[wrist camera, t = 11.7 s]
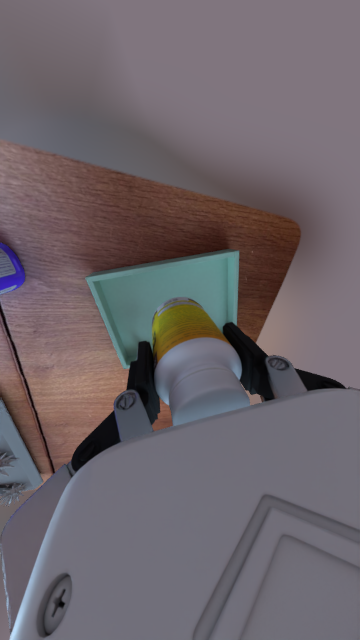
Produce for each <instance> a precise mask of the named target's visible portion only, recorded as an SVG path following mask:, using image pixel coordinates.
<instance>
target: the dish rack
mask: <svg viewBox="0 0 360 640" xmlns="http://www.w3.org/2000/svg"><path fill="white" fill-rule="evenodd" d="M238 273H239V250H232V249H226V250H221V251H215V252H209V253H203V254H198V255H192V256H186V257H180V258H174V259H169V260H163V261H157V262H151V263H145V264H140V265H134V266H128V267H122V268H116V269H111V270H105V271H99V272H93V273H92V274H90V275H89V276H87V277H86V280H87V283H88V285H89V287H90V290H91V292H92V295H93V297H94V299H95V302H96V304H97V306H98V309H99V311H100V314H101V316H102V318H103V321H104V323H105V325H106V328H107V330H108V333H109V335H110V337H111V340H112V342H113V345H114V347H115V349H116V352H117V354H118V356H119V359H120V361H121V364H122V366H123V368H124V369H127V368H130V363H131V361H135V360H137V354H138V343H139V342H141V341H147V342H150V345H151V349H152V353H153V344H152V319H153V315H154V313H155V311H156V310H157V308H158V307H159V306H160V305H161V304H162V303H164V302H165V301H167V300H169V299H171V298H175V297H187V298H191V299H193V300H195V301H196V302H198V303H199V304H200V305H201V306H202V307H203V309H204V310H205V311H206V313H207V314H208V315H209V317H210V318H211V319H212V320H213V322H214V323H215V324H216V326H217V327H218V328H219V330H220V331H221V332H222V334H223V326H224V325H225V323H229V322H233V323H234V324H235V325H236V326H237V301H238Z"/></svg>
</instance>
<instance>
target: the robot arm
mask: <svg viewBox="0 0 360 640" xmlns="http://www.w3.org/2000/svg"><path fill="white" fill-rule="evenodd" d="M223 335H224V336H225V338H226V339H227V340H228V341H229V343H230V344H231V345H232V347H233V348H234V349H235V351H236V352H237V354H238V355H239V358H240V360H241V365H242V373H241V377H240V380H239V381H240V382H241V384H242V385H243V387H244V388H245V390H248V391H249V392H250V394H251V395H253V394H259V395H260V397H261V400H262V403H259V404H255V405H251V406H247V407H243V408H239V409H235V410H232V411H228V412H224V413H220V414H217V415H213V416H209V417H205V418H202V419H198V420H194V421H190V422H187V423H183V424H179V425H176V426H172V427H168V428H165V429H161V430H158V431H153V428H152V424H153V423H154V422H155V420H156V419H158V416H157V414H158V413H160V401H159V396H158V394H157V392H156V389H155V385H154V371H153V353H152V349H151V345H150V342H147V341H141V342H139V343H138V354H137V360H135V361H131V363H130V369H129V376H128V383H127V390H126V391H124V392H122V393H121V394H120V395H119V396H118V397H117V398H116V399H115V401H114V411H113V412H112V413H111V414H110V415H109V416H108V417H107V418H106V419H105V420H104V421H103V422H102V423H101V424H100V425H99V426H98V427H97V428H96V429H95V430H94V431H93V432H92V433H91V434H90V435H89V436H88V437H87V438H86V439H85V440H84V441H83V442H82V443H81V444H80V445H79V446H78V447H77V449H76V450H75V452H74V454H73V457H72V460H71V461H70V462H69V463H68V464H67V465H66V464H64V465H63V466H62V467H61V468H59V469H58V470H57V471H56V472H55V473H54V474H53V475H52V476H51V477H50V478H49V479H48V480H47V481H46V482H45V483H44V484H43V485H42V486H41V487H40V488H39V489H38V490H37V491H36V492H35V493H34V494H33V495H32V496H30V497H29V499H27V500H26V502H24V503H23V504H22V505H21V506H20V507H19V508H18V509H17V510H16V511H15V513H14V514H13V515H12V516H11V517H10V519H9V520H8V522H7V523H6V525H5V527H4V529H3V531H2V534H1V537H0V552H1V560H2V568H3V577H4V585H5V593H6V602H7V611H8V619H9V628H10V636H11V637H10V640H360V390H359V389H355V388H352V387H348V389H347V388H345V387H344V386H343V385H342V384H341V383H339V382H337V381H336V380H333V379H330V378H327V377H323V376H320V375H317V374H312V373H310V372H306V371H302V370H299V369H295V368H294V367H293V365H292V364H291V362H290V361H288V360H287V359H286V358H284V357H281V356H276V355H273V356H268V355H267V354H266V353H265V352H264V351H262V349H261V348H259V346H258V345H257V344H256V343H255V342H254V341H253V340H252V339H251V338H250V337H248V336H246V335H245V334H244V333H243V332H242V331H241V330H240V329H239V328H238V327H237V326H236V325H235V324H234V323H233V322H229V323H225V325H224V326H223Z"/></svg>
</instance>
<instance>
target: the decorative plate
mask: <svg viewBox="0 0 360 640" xmlns="http://www.w3.org/2000/svg"><path fill="white" fill-rule="evenodd" d="M41 483H43V480H42V478H41V476H40V474H39V472H38V470H37V468H36V466H35V464H34V462H33V460H32V458H31V456H30V454H29V452H28V450H27V448H26V446H25V444H24V442H23V440H22V438H21V436H20V434H19V432H18V430H17V428H16V426H15V424H14V422H13V420H12V418H11V416H10V414H9V412H8V410H7V408H6V406H5V404H4V402H3V400H2V398H1V397H0V494H1V495H0V496H3V495H4V497H2V498H1V499H2V500H3V499H4V501H3V502H2V503H1V504H3V503H4V502H5V501H6V500H7V499H8V500H7V502H6V504H8V502H9V501H10V502H9V505H10V503H11V501H12V499H13V501H14V503H15V498H16V500H17V499H18V501H19V497H18V495H22V496H24V495H23V494H22V493H21V492H22V491H28V490H33V489H35V488H37V487H38V486H39V485H40V484H41ZM1 499H0V500H1ZM6 504H5V505H6ZM6 506H7V505H6Z"/></svg>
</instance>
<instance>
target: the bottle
mask: <svg viewBox="0 0 360 640" xmlns="http://www.w3.org/2000/svg"><path fill="white" fill-rule="evenodd" d="M24 281H25V273H24V269H23V267H22V265H21V263H20V261H19V259H18V257H17V256H16V254H15V253H14V252H13V251H12V250H11V249H10V248H9V247H8V246H7V245H5V244H3V243H0V295H1V294H4V293H7V292H10V291H13V290H15V289H17V288H18V287H20V286H21V285H22V284H23V282H24Z"/></svg>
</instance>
